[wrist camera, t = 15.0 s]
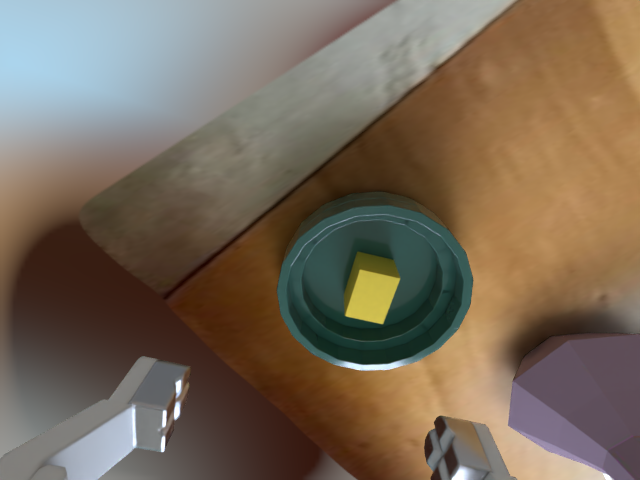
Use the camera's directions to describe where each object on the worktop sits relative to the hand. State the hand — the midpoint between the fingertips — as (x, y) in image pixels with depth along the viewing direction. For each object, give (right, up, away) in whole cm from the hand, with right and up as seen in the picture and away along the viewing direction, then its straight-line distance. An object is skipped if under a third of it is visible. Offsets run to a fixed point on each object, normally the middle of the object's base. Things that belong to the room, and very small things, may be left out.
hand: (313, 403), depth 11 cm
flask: (+27, -8, +26) cm, 38 cm away
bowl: (+5, +2, +22) cm, 23 cm away
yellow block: (+5, +2, +22) cm, 22 cm away
